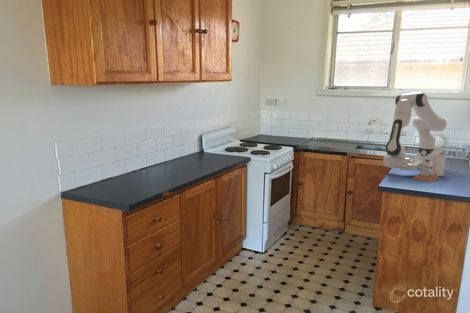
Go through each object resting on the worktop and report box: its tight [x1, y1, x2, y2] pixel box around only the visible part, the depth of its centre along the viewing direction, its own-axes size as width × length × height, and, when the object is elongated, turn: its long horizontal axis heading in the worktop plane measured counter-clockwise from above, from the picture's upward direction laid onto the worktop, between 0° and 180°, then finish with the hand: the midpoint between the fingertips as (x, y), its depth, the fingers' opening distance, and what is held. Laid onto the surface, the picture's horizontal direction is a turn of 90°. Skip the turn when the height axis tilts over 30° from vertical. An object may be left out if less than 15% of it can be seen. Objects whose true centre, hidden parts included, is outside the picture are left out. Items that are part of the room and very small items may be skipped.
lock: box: [420, 159, 432, 178], centre depth 261 cm, size 5×6×12 cm
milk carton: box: [430, 147, 447, 177], centre depth 272 cm, size 7×7×19 cm
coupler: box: [413, 172, 439, 182], centre depth 263 cm, size 14×12×4 cm
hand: (428, 167), depth 260 cm, fingers open, 6 cm apart
